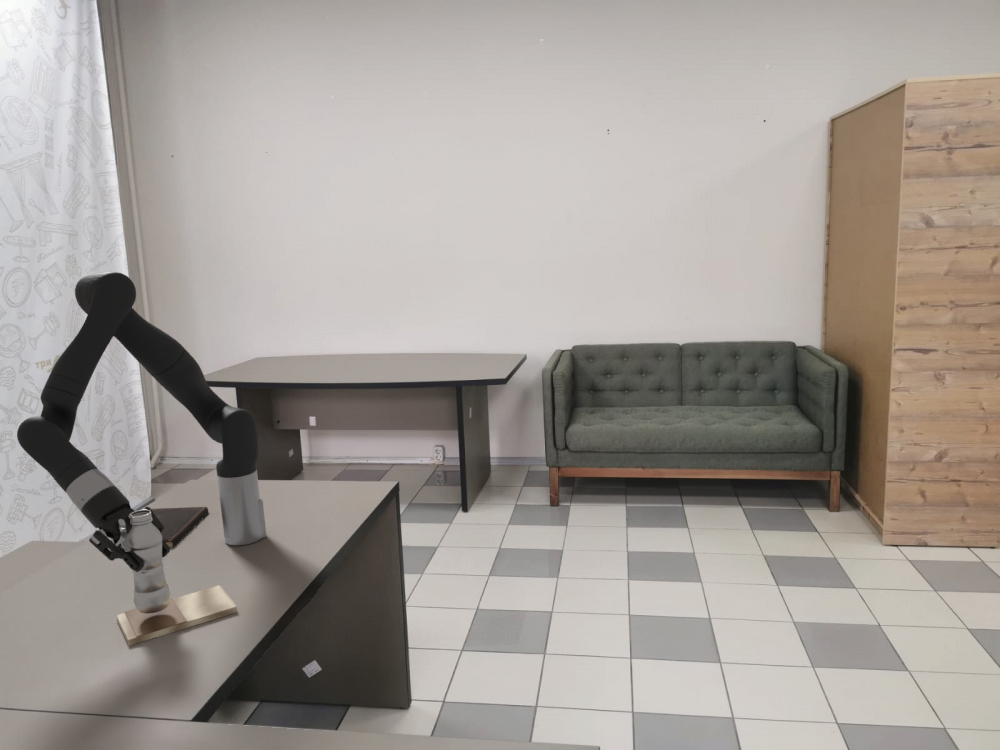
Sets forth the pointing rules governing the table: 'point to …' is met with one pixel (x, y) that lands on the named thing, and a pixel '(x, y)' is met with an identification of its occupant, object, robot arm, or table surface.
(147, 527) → the plastic bottle
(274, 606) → the table surface
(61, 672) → the table surface
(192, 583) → the table surface
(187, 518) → the hardcover book
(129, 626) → the board
